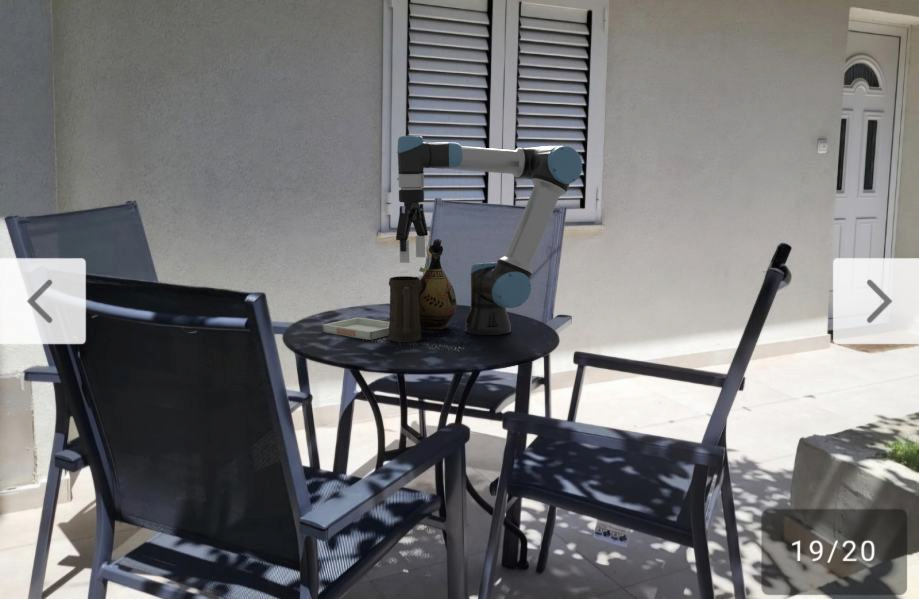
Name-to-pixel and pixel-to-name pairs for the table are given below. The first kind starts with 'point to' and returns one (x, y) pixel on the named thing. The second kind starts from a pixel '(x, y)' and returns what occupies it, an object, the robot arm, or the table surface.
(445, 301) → the ceramic jug
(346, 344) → the table surface
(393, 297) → the beer stein
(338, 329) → the tray
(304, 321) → the table surface
